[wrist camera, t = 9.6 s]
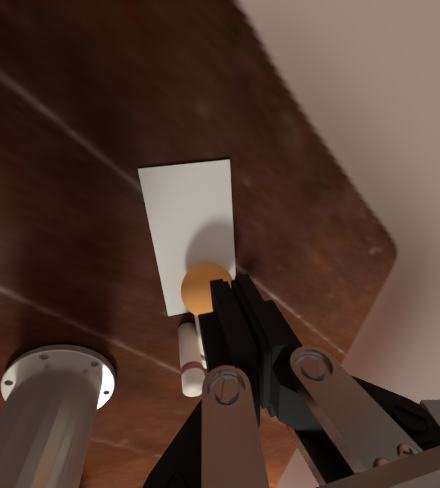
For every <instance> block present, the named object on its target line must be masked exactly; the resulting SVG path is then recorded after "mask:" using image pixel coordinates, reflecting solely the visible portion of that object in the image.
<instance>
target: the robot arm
mask: <svg viewBox="0 0 440 488" xmlns="http://www.w3.org/2000/svg"><path fill="white" fill-rule="evenodd" d="M210 290H211V299H212V309H213V312H209V313H204V314H199V315H198V320H199V327H200V334H201V340H202V345H203V351H204V356H205V361H206V366H207V372H208V374H207V375H206V377H205V379H204V381H203V385H202V399H201V401H200V402H199V403H198V405H197V406H196V408H195V409H194V411H193V412H192V414H191V415H190V416H189V418H188V419H187V421H186V422H185V424H184V425H183V427H182V428H181V429H180V431H179V432H178V434H177V435H176V437H175V438H174V440H173V441H172V442H171V444H170V445H169V447H168V448H167V450H166V451H165V453H164V454H163V455H162V457H161V458H160V460H159V461H158V463H157V464H156V466H155V467H154V468H153V470H152V471H151V473H150V474H149V476H148V478H147V479H146V481H145V483H143V484H142V485H140V486H138V487H137V488H269V482H268V477H267V472H266V466H265V461H264V455H263V450H262V445H261V439H260V434H259V427H260V405H261V407H262V408H263V409H264V408H267V409H268V412H269V415H270V417H274V416H277V418H278V420H279V421H280V422H282V423H284V424H286V427H287V429H288V431H289V434H290V435H291V437H292V439H293V441H294V442H295V444H296V446H297V448H298V449H299V451H300V453H301V455H302V456H303V458H304V460H305V462H306V463H307V465H308V467H309V468H310V470H311V472H312V474H313V476H314V477H315V479H316V481H317V482H318V484H319V487H317V488H440V400H421V402H420V404H417V403H415V402H413V401H412V400H410V399H408V398H405V397H403V396H400V395H398V394H395V393H393V392H391V391H388V390H385V389H383V388H381V387H378V386H376V385H373V384H371V383H368V382H366V381H364V380H361V379H359V378H356V377H354V376H351V375H350V374H349V373H348V372H347V371H346V370H345V369H344V368H343V367H342V366H341V365H340V364H339V363H338V362H337V361H336V360H335V359H334V358H333V357H332V356H331V355H330V354H329V353H327V352H326V351H324V350H322V349H320V348H317V347H314V346H302V344H301V343H300V341H299V340H298V338H297V337H296V335H295V334H294V332H293V331H292V329H291V328H290V326H289V325H288V323H287V321H286V320H285V318H284V317H283V315H282V314H281V312H280V311H279V309H278V308H277V306H276V305H275V303H274V302H273V301H272V300H268V301H264V300H263V298H262V297H261V295H260V293H259V292H258V290H257V288H256V287H255V285H254V283H253V282H252V280H251V278H250V277H249V275H248V274H244V275H239V276H235V280H231V287H230V285H229V282H228V281H223V279H217V280H211V281H210ZM115 381H116V376H115V371H114V368H113V366H112V365H111V364H110V362H109V361H108V360H107V359H106V358H105V357H104V356H102V355H101V354H99V353H97V352H95V351H93V350H90V349H88V348H85V347H80V346H76V345H66V344H63V345H49V346H44V347H40V348H36V349H33V350H31V351H29V352H26V353H24V354H22V355H21V356H20V357H18V358H17V359H16V360H14V361H13V363H12V364H11V365H10V366H9V367H8V369H7V371H6V372H5V374H4V375H3V377H2V380H1V392H2V395H3V398H4V399H5V400H6V401H5V403H4V404H3V406H2V408H1V410H0V488H79V484H80V480H81V476H82V471H83V467H84V463H85V458H86V454H87V450H88V445H89V441H90V439H91V437H92V428H93V424H94V419H95V415H96V411H97V409H98V408H100V407H101V406H102V405H104V404H105V403H106V402H107V401H108V399H109V398H110V396H111V395H112V393H113V390H114V387H115Z"/></svg>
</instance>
